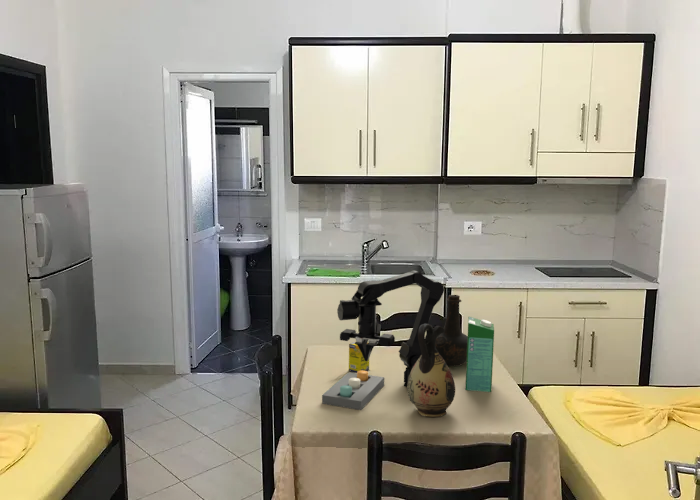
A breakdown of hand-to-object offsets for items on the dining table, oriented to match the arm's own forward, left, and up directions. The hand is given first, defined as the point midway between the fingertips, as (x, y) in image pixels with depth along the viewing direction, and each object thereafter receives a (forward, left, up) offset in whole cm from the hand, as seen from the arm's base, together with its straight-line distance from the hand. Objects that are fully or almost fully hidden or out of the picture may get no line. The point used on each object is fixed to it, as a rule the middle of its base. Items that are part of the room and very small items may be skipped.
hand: (366, 361), depth 212 cm
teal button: (+3, +12, -9) cm, 16 cm away
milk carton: (-36, -20, -11) cm, 43 cm away
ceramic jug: (-25, +9, -11) cm, 29 cm away
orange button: (+3, -4, -9) cm, 10 cm away
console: (+3, +4, -11) cm, 12 cm away
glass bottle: (-21, -42, -11) cm, 48 cm away
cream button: (+3, +4, -9) cm, 11 cm away
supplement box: (+10, -19, -11) cm, 24 cm away
